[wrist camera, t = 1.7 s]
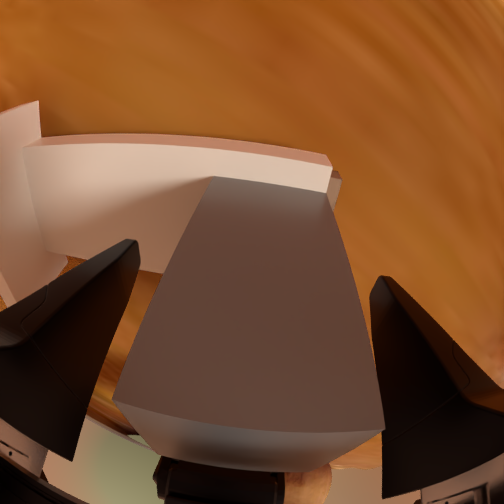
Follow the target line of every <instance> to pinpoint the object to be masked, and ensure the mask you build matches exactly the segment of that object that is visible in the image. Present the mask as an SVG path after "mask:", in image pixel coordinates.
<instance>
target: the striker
mask: <svg viewBox="0 0 504 504" xmlns="http://www.w3.org/2000/svg"><path fill="white" fill-rule="evenodd" d="M332 168H333V167H332V165H331V163H330V161H329V159H328V158H327V156H326V155H325V154H320V153H315V152H310V151H304V150H299V149H293V148H287V147H281V146H275V145H269V144H262V143H255V142H247V141H239V140H230V139H221V138H210V137H199V136H185V135H167V134H127V133H121V134H82V135H65V136H53V137H42V138H41V129H40V116H39V100H38V101H34V102H30V103H26V104H22V105H19V106H16V107H13V108H11V109H8V110H6V111H3V112H1V113H0V295H1V297H2V299H3V301H4V302H5V304H6V306H7V308H8V307H10V306H11V305H13V304H15V303H17V302H18V301H20V300H22V299H24V298H25V297H27V296H29V295H30V294H32V293H34V292H35V291H37V290H39V289H40V288H42V287H43V286H45V285H48V283H50V282H51V281H53V280H55V279H56V278H57V276H58V275H59V274H60V272H61V271H62V270H63V269H64V267H65V266H66V265H67V263H68V260H67V257H66V255H67V256H72V257H77V258H82V259H86V260H88V259H90V258H92V257H94V256H95V255H97V254H99V253H101V252H102V251H104V250H106V249H108V248H110V247H111V246H113V245H115V244H117V243H119V242H121V241H122V240H124V239H134V240H137V241H138V244H139V251H140V258H141V264H140V268H139V270H144V271H150V272H155V273H161V274H163V276H162V278H161V280H160V282H159V284H158V287H157V289H156V291H155V293H154V295H153V298H152V300H151V302H150V304H149V307H148V309H147V311H146V314H145V316H144V318H143V321H142V323H141V325H140V328H139V330H138V332H137V335H136V337H135V340H134V342H133V345H132V347H131V349H130V352H129V355H128V357H127V360H126V362H125V365H124V367H123V370H122V373H121V375H120V378H119V381H118V383H117V386H116V389H115V392H114V394H113V397H112V400H113V402H114V403H115V405H116V406H117V407H118V408H119V410H120V411H121V412H122V414H123V415H124V416H125V417H126V419H127V420H128V421H129V422H130V424H131V425H132V426H133V427H134V429H135V430H136V431H137V432H138V433H139V434H140V436H141V437H142V438H143V439H144V440H145V441H146V442H147V444H148V445H149V446H150V447H151V448H152V449H153V450H154V451H155V452H156V453H157V454H159V455H162V456H166V457H170V458H175V459H179V460H184V461H189V462H194V463H199V464H205V465H211V466H217V467H225V468H233V469H242V470H253V471H268V472H310V471H313V470H315V469H317V468H319V467H321V466H323V465H325V464H327V463H329V462H331V461H333V460H335V459H336V458H338V457H340V456H342V455H344V454H346V453H347V452H349V451H351V450H353V449H354V448H356V447H358V446H359V445H361V444H363V443H364V442H366V441H368V440H369V439H371V438H372V437H374V436H376V435H377V434H379V433H380V432H382V431H383V430H385V422H384V415H383V408H382V402H381V396H380V390H379V384H378V379H377V374H376V369H375V364H374V359H373V354H372V349H371V345H370V340H369V336H368V332H367V327H366V323H365V319H364V315H363V311H362V307H361V303H360V299H359V296H358V292H357V288H356V285H355V281H354V277H353V274H352V271H351V267H350V264H349V260H348V257H347V254H346V251H345V247H344V244H343V241H342V238H341V235H340V232H339V229H338V226H337V223H336V220H335V217H334V214H333V211H332V208H331V205H330V202H329V200H328V197H327V194H326V192H327V188H328V184H329V180H330V176H331V172H332Z"/></svg>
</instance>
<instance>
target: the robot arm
mask: <svg viewBox="0 0 504 504" xmlns="http://www.w3.org/2000/svg"><path fill="white" fill-rule="evenodd" d="M140 264H141V258H140V251H139V244H138V241H137V240H134V239H124V240H122V241H121V242H119V243H117V244H115V245H113V246H111V247H110V248H108V249H106V250H104V251H102V252H101V253H99V254H97V255H95V256H94V257H92V258H90V259H88V260H87V261H85V262H83V263H81V264H80V265H78V266H76V267H75V268H73V269H71V270H69V271H68V272H66V273H64V274H63V275H61V276H60V277H58V278H56V279H55V280H53V281H51V282H50V283H48V285H45V286H43V287H42V288H40V289H39V290H37V291H35V292H34V293H32V294H30V295H29V296H27V297H25V298H24V299H22V300H20V301H18V302H17V303H15V304H13V305H11V306H10V307H8V308H6V309H4V310H3V311H1V312H0V504H89V503H86V502H84V501H82V500H80V499H78V498H76V497H74V496H72V495H70V494H67V493H66V492H64V491H62V490H60V489H58V488H56V487H55V486H53V485H51V484H49V483H48V481H47V478H46V476H45V474H44V472H43V470H42V468H43V465H44V462H45V458H46V455H47V452H48V450H50V451H52V452H54V453H56V454H57V455H59V456H61V457H63V458H65V459H67V460H69V461H71V462H72V461H73V458H74V454H75V450H76V447H77V443H78V439H79V436H80V432H81V428H82V425H83V422H84V419H85V415H86V412H87V408H88V405H89V402H90V399H91V396H92V393H93V390H94V388H95V385H96V382H97V379H98V376H99V373H100V371H101V368H102V365H103V363H104V360H105V357H106V355H107V352H108V350H109V347H110V344H111V342H112V339H113V337H114V335H115V332H116V330H117V327H118V325H119V322H120V320H121V318H122V315H123V313H124V311H125V309H126V306H127V304H128V301H129V298H130V295H131V292H132V289H133V286H134V283H135V280H136V277H137V274H138V271H139V268H140ZM369 300H370V315H371V333H372V342H373V349H374V356H375V364H376V372H377V379H378V384H379V390H380V396H381V402H382V408H383V415H384V422H385V430H383V431H382V432H381V433H382V445H383V446H382V499H386V498H391V497H394V496H399V495H403V494H406V493H410V492H414V491H416V490H420V492H421V499H419V500H416V501H415V503H414V504H504V389H502V388H500V387H499V386H498V385H497V384H496V383H495V382H494V381H493V380H492V379H491V378H490V377H489V376H488V375H487V374H486V373H485V372H484V371H483V370H482V369H481V368H480V367H479V366H478V365H477V364H476V363H475V362H474V361H473V360H472V359H471V358H470V357H469V356H468V355H467V354H466V353H465V352H464V351H463V349H462V348H461V347H460V346H459V345H458V344H457V343H456V342H455V341H454V340H453V339H452V338H451V337H450V335H449V334H448V333H447V332H446V331H445V330H444V329H443V328H442V327H441V326H440V325H439V324H438V323H437V322H436V321H435V320H434V319H433V318H432V317H431V316H430V315H429V314H428V313H427V312H426V311H425V310H424V309H423V308H422V307H421V306H420V305H419V304H418V303H417V302H416V301H415V300H414V299H413V298H412V297H411V296H410V295H409V294H408V293H407V292H406V291H405V290H404V289H403V288H402V287H401V286H400V285H399V284H398V283H397V282H396V281H395V280H394V279H392V278H391V277H389V276H379V277H378V279H377V281H376V283H375V285H374V287H373V289H372V291H371V293H370V297H369ZM153 480H154V481H155V483H156V484H157V494H158V498H160V499H163V500H165V501H164V504H284V498H285V473H284V472H268V471H253V470H242V469H233V468H225V467H217V466H211V465H205V464H199V463H194V462H189V461H184V460H179V459H175V458H170V457H166V456H162V455H161V458H160V460H159V462H158V465H157V467H156V469H155V472H154V474H153Z"/></svg>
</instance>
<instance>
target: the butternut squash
mask: <svg viewBox="0 0 504 504" xmlns="http://www.w3.org/2000/svg"><path fill="white" fill-rule="evenodd" d="M284 473H285V498H284V504H323V503H324V501H325V499H326V497H327V495H328V493H329V490H330V486H331V481H332V473H331V467H330V465H329V463H327V464H325V465H323V466H321V467H319V468H317V469H315V470H313V471H310V472H284Z"/></svg>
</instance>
